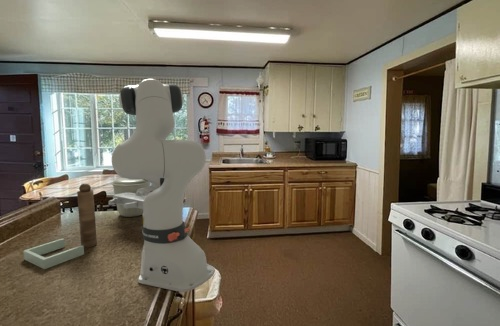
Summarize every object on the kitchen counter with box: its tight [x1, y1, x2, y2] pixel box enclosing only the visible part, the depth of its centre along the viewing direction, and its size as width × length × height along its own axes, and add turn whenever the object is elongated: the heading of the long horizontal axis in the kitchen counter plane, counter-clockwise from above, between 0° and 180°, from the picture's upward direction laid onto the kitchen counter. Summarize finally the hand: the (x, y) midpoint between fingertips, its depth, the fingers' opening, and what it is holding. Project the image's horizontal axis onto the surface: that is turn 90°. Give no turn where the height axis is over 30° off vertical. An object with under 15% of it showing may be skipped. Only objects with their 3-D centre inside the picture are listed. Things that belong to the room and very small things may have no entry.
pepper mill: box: [76, 182, 98, 248], centre depth 103 cm, size 5×5×23 cm
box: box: [22, 238, 85, 270], centre depth 94 cm, size 13×12×3 cm
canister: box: [111, 177, 151, 218], centre depth 140 cm, size 18×18×21 cm
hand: (116, 204), depth 113 cm, fingers open, 8 cm apart
